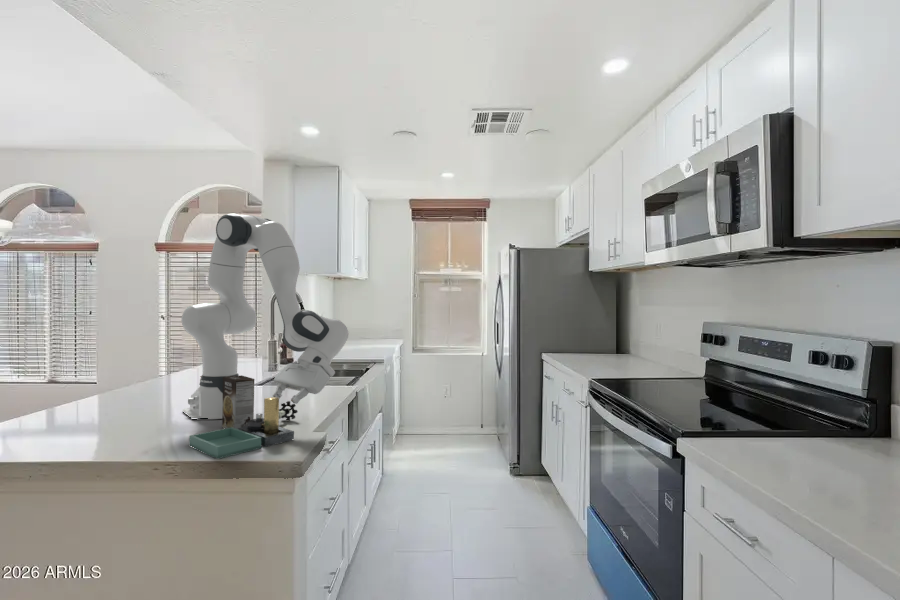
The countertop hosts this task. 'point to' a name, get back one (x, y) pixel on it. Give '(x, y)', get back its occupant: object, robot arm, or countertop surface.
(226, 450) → the tray
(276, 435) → the block
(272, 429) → the pin
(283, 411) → the valve
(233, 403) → the coffee box
